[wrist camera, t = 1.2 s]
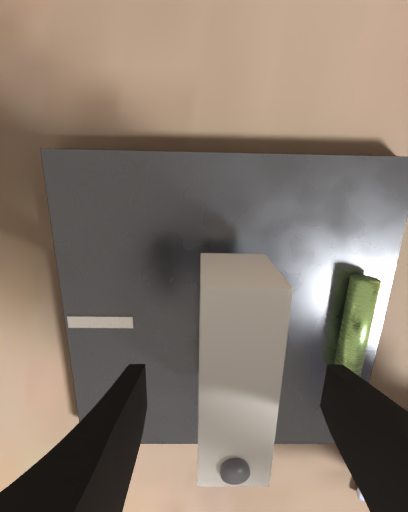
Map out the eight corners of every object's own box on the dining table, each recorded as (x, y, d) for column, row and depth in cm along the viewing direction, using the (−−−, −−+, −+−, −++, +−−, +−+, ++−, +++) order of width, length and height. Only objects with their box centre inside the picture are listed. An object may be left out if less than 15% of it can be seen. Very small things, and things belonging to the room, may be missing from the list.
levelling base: (399, 158, 14) (447, 154, 12) (343, 423, 20) (367, 465, 17) (56, 151, 14) (21, 145, 11) (91, 423, 19) (72, 465, 16)
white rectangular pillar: (258, 246, 14) (295, 290, 9) (247, 389, 17) (270, 491, 11) (200, 245, 14) (201, 289, 9) (198, 389, 17) (197, 492, 11)
